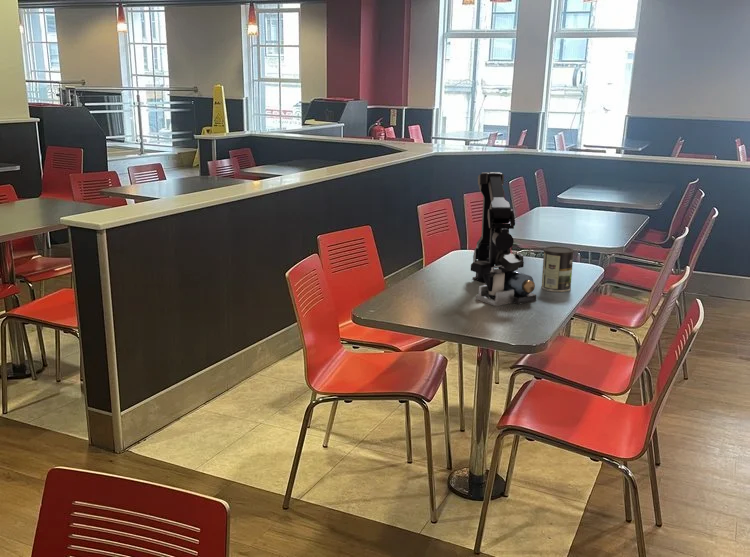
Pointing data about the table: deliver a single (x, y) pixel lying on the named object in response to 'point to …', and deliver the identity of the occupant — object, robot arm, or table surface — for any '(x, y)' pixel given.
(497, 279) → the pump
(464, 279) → the table surface
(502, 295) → the motor
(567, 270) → the coffee can
